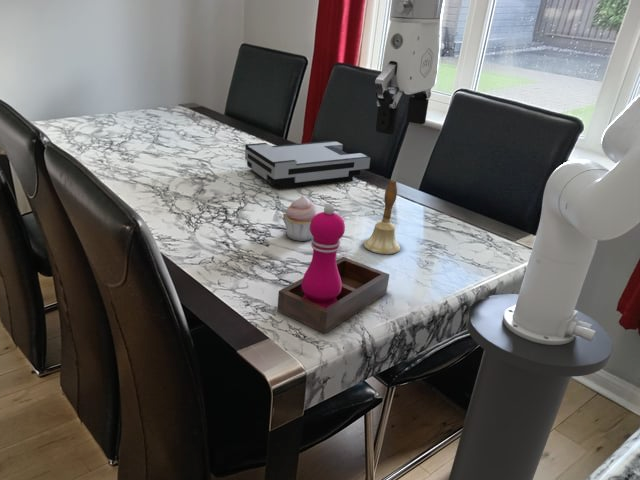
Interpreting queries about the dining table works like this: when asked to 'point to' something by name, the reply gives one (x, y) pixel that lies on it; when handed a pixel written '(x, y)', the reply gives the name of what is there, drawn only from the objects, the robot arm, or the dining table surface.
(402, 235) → the dining table surface
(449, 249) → the dining table surface
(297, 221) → the cupcake
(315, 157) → the game console
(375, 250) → the hand bell
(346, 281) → the holder
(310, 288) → the pepper mill
